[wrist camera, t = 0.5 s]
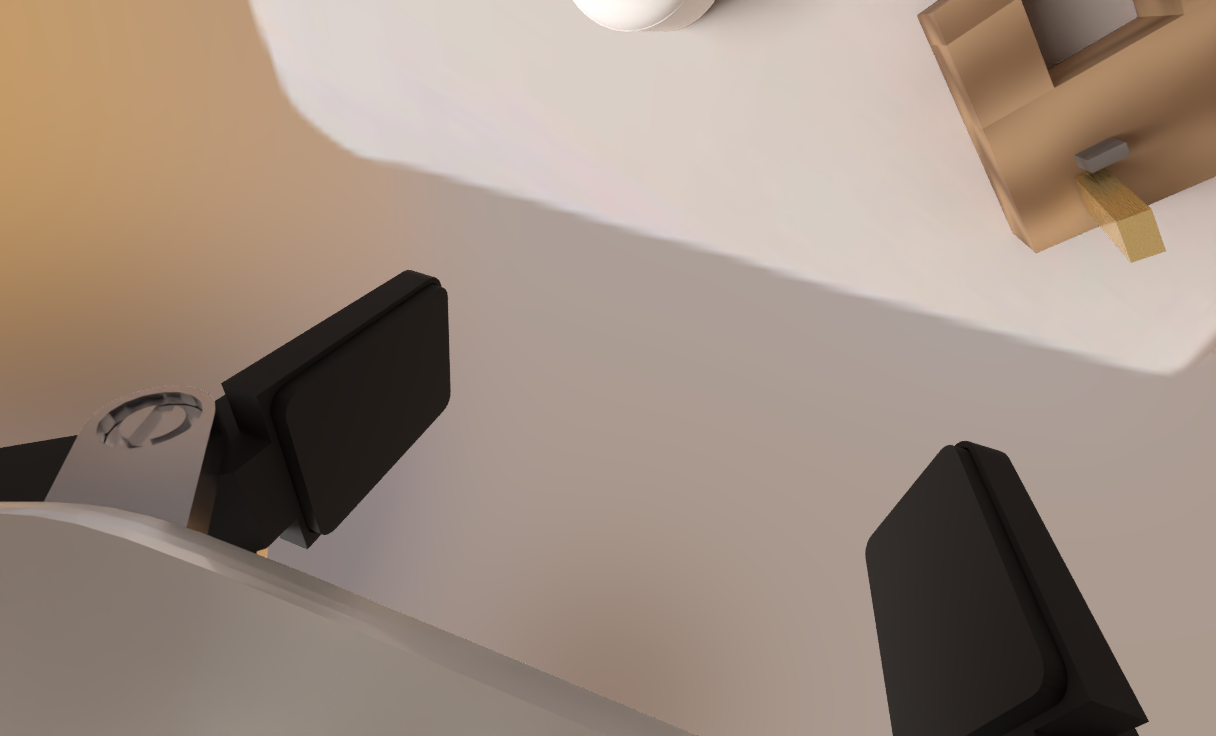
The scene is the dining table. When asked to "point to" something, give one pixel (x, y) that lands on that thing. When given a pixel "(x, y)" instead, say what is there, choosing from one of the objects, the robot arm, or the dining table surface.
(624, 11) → the pill bottle
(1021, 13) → the block
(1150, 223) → the bar
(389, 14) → the dining table surface
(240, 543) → the robot arm
